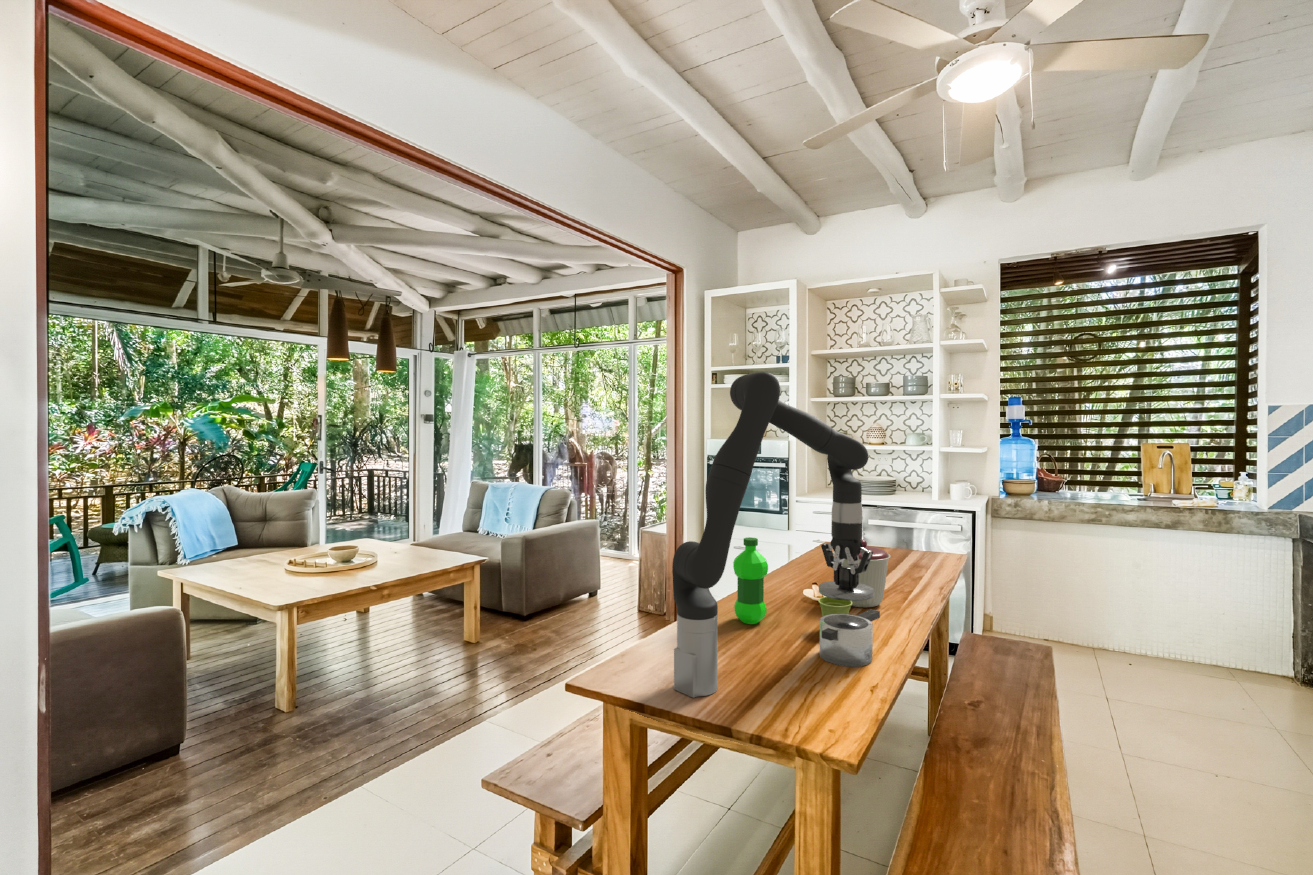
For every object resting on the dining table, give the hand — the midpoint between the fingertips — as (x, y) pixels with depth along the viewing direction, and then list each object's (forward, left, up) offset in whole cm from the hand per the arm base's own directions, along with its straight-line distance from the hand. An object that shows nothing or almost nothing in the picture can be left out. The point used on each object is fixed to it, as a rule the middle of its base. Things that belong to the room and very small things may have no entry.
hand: (846, 585), depth 161 cm
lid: (0, 0, -2) cm, 2 cm away
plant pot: (+15, +12, -19) cm, 27 cm away
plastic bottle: (+4, +34, -19) cm, 39 cm away
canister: (+44, +20, -19) cm, 52 cm away
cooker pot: (+3, 0, -18) cm, 19 cm away
